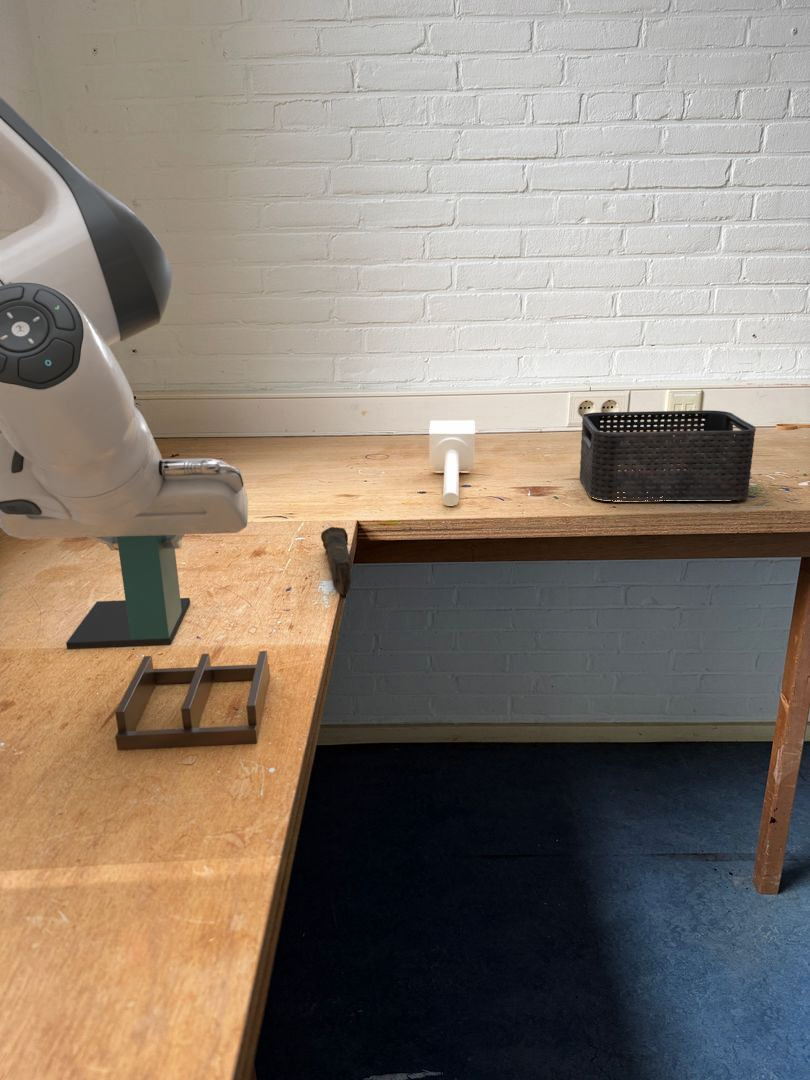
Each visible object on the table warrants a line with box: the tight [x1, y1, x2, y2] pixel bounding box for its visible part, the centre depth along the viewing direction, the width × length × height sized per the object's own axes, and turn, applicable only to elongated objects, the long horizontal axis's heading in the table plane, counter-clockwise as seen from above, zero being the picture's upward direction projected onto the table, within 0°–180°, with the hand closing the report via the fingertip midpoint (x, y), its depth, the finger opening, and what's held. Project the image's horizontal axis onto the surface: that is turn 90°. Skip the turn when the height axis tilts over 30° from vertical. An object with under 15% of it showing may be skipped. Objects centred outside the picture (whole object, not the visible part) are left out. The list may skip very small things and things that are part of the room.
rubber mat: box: [65, 597, 191, 650], centre depth 99 cm, size 12×12×1 cm
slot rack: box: [114, 650, 271, 751], centre depth 79 cm, size 13×13×4 cm
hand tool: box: [320, 526, 352, 596], centre depth 114 cm, size 19×4×5 cm, turn 6°
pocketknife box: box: [117, 535, 182, 639], centre depth 75 cm, size 4×6×11 cm, turn 4°
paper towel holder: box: [428, 420, 476, 506], centre depth 157 cm, size 9×9×32 cm
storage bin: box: [579, 409, 757, 501], centre depth 150 cm, size 29×19×13 cm
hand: (147, 542), depth 74 cm, fingers closed on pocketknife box, 3 cm apart
